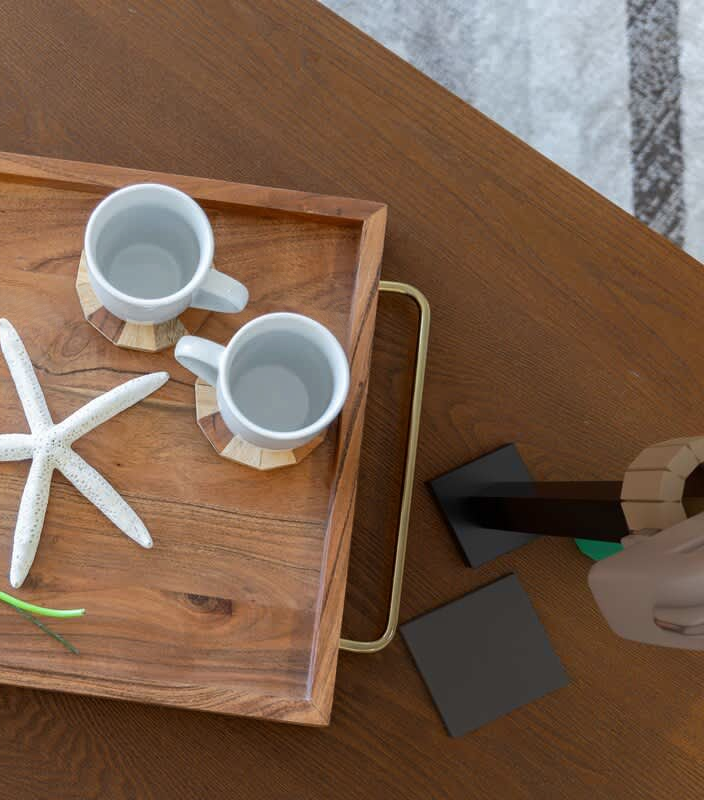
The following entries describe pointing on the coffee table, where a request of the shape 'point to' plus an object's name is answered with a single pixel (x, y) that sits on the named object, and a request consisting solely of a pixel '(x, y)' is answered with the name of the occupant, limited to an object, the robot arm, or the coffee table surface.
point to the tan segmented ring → (660, 483)
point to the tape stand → (531, 506)
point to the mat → (483, 655)
